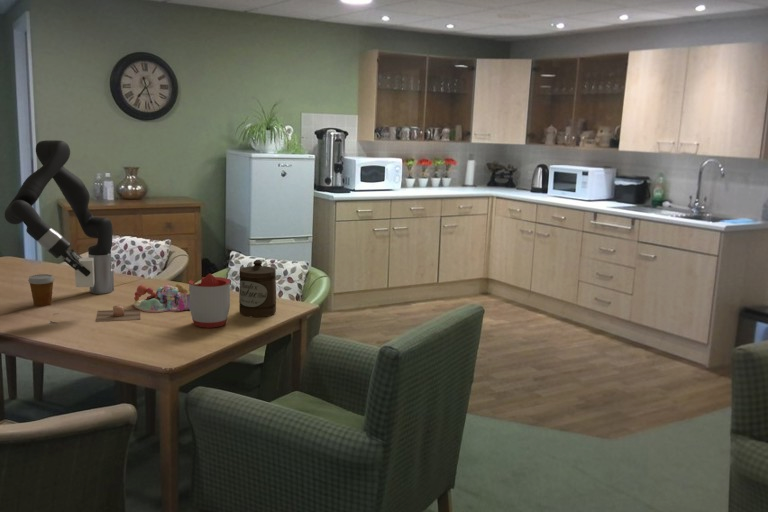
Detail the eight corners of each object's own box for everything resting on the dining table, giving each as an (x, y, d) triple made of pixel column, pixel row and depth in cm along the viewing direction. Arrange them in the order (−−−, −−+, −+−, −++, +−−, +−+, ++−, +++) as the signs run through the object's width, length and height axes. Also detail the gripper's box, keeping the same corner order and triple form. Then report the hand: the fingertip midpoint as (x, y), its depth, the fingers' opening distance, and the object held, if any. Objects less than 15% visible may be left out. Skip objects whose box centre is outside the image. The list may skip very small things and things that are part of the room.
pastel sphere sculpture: (174, 296, 309) (174, 275, 308) (210, 306, 296) (210, 285, 294) (124, 305, 289) (124, 283, 287) (160, 316, 276) (160, 293, 274)
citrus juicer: (206, 315, 282) (206, 266, 278) (239, 323, 273) (239, 273, 269) (176, 324, 269) (176, 273, 265) (210, 332, 260) (209, 279, 256)
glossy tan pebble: (119, 313, 278) (118, 304, 277) (126, 315, 276) (126, 306, 275) (111, 315, 274) (110, 306, 273) (118, 317, 272) (118, 308, 272)
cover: (77, 283, 271) (76, 258, 269) (94, 282, 273) (93, 257, 271) (75, 287, 266) (74, 261, 264) (93, 286, 268) (92, 261, 266)
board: (97, 312, 280) (97, 310, 280) (140, 310, 285) (140, 309, 285) (95, 323, 265) (95, 322, 265) (140, 321, 270) (140, 319, 270)
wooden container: (232, 314, 285) (232, 261, 281) (251, 306, 299) (252, 255, 295) (263, 319, 280) (264, 265, 276) (282, 310, 294) (283, 259, 290)
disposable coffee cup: (45, 309, 281) (43, 279, 279) (24, 307, 283) (22, 277, 281) (60, 303, 290) (59, 275, 288) (40, 301, 292) (38, 273, 290)
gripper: (59, 239, 257) (95, 269, 263) (63, 232, 270) (98, 261, 276) (44, 253, 256) (80, 284, 262) (49, 246, 269) (84, 275, 275)
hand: (89, 272), depth 269 cm, fingers closed on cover, 6 cm apart
